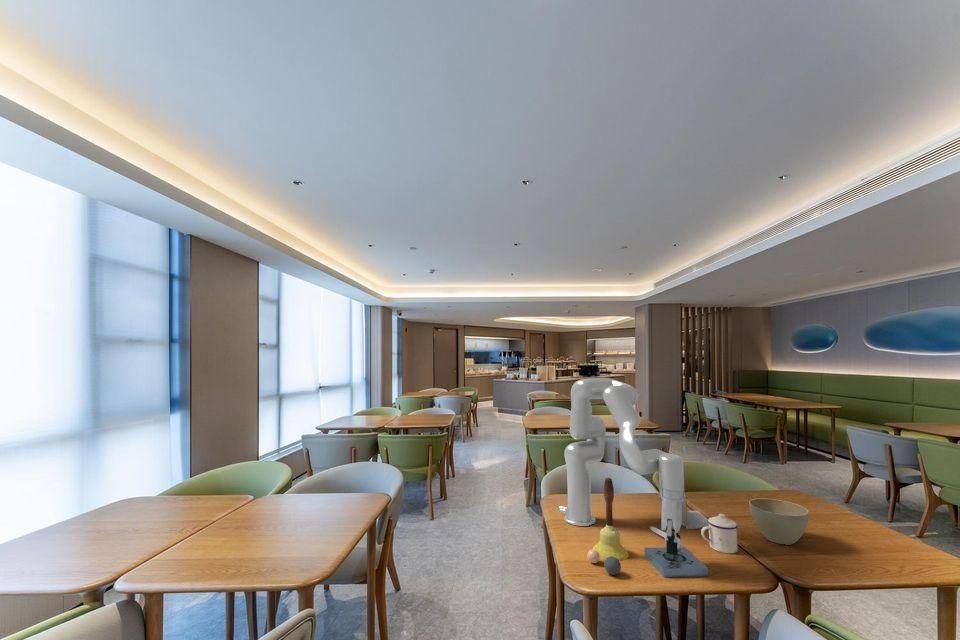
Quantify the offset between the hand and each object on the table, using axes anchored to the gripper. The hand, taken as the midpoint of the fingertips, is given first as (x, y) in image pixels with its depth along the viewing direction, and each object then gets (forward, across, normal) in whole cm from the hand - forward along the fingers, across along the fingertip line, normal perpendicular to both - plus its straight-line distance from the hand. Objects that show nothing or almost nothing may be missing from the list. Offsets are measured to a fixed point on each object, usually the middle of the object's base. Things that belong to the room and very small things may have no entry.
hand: (673, 549), depth 137 cm
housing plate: (+5, 0, 0) cm, 5 cm away
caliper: (+5, -18, -7) cm, 20 cm away
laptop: (+5, -45, 0) cm, 45 cm away
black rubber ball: (+2, +17, -15) cm, 23 cm away
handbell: (+5, +3, -20) cm, 21 cm away
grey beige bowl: (+5, -42, +29) cm, 51 cm away
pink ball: (+3, +13, -22) cm, 26 cm away
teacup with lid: (+5, -22, +11) cm, 25 cm away
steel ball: (-2, 0, 0) cm, 2 cm away
